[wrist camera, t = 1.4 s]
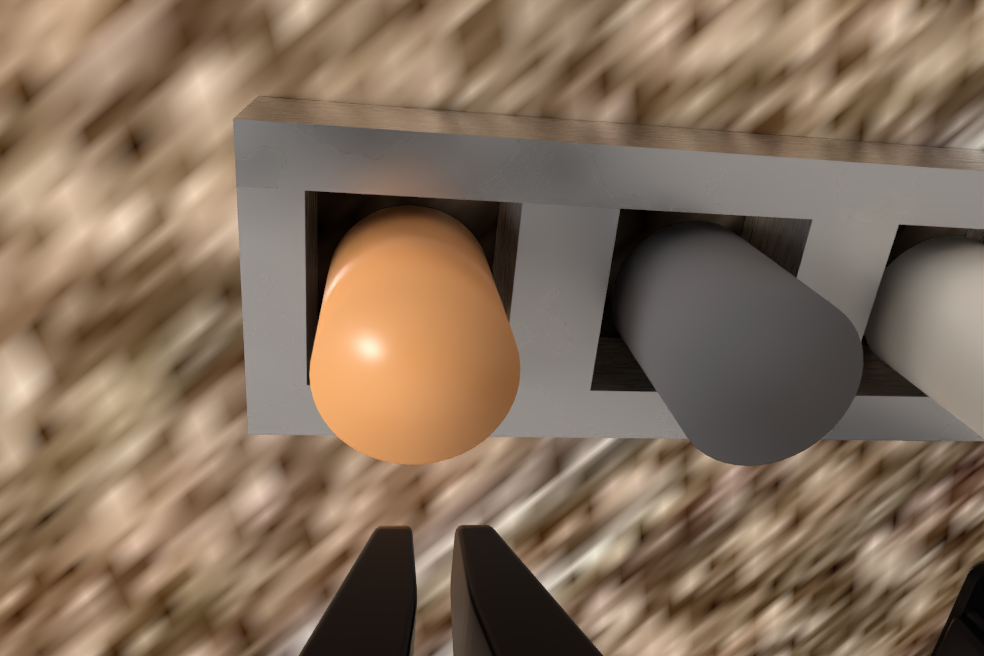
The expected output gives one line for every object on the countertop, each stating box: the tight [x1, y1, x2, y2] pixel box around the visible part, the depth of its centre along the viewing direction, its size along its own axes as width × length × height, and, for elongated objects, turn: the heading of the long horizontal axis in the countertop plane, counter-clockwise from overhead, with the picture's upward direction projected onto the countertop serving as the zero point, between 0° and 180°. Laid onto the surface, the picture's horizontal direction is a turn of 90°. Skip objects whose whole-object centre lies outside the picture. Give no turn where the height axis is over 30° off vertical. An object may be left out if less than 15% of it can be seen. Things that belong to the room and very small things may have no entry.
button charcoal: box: [611, 221, 863, 466], centre depth 16 cm, size 4×4×4 cm
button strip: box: [233, 96, 984, 441], centre depth 19 cm, size 20×7×3 cm, turn 85°
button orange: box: [309, 205, 521, 465], centre depth 15 cm, size 4×4×4 cm
